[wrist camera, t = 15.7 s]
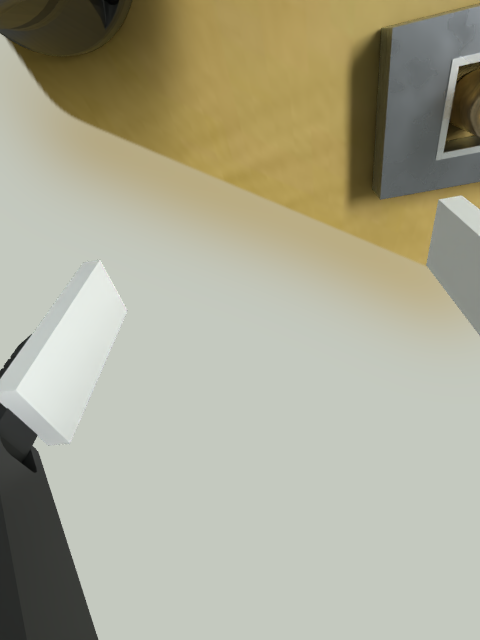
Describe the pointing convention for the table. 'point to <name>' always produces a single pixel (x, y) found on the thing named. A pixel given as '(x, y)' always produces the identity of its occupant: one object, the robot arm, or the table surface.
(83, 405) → the robot arm
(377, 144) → the plate
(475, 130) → the brass domed cylinder
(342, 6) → the table surface
